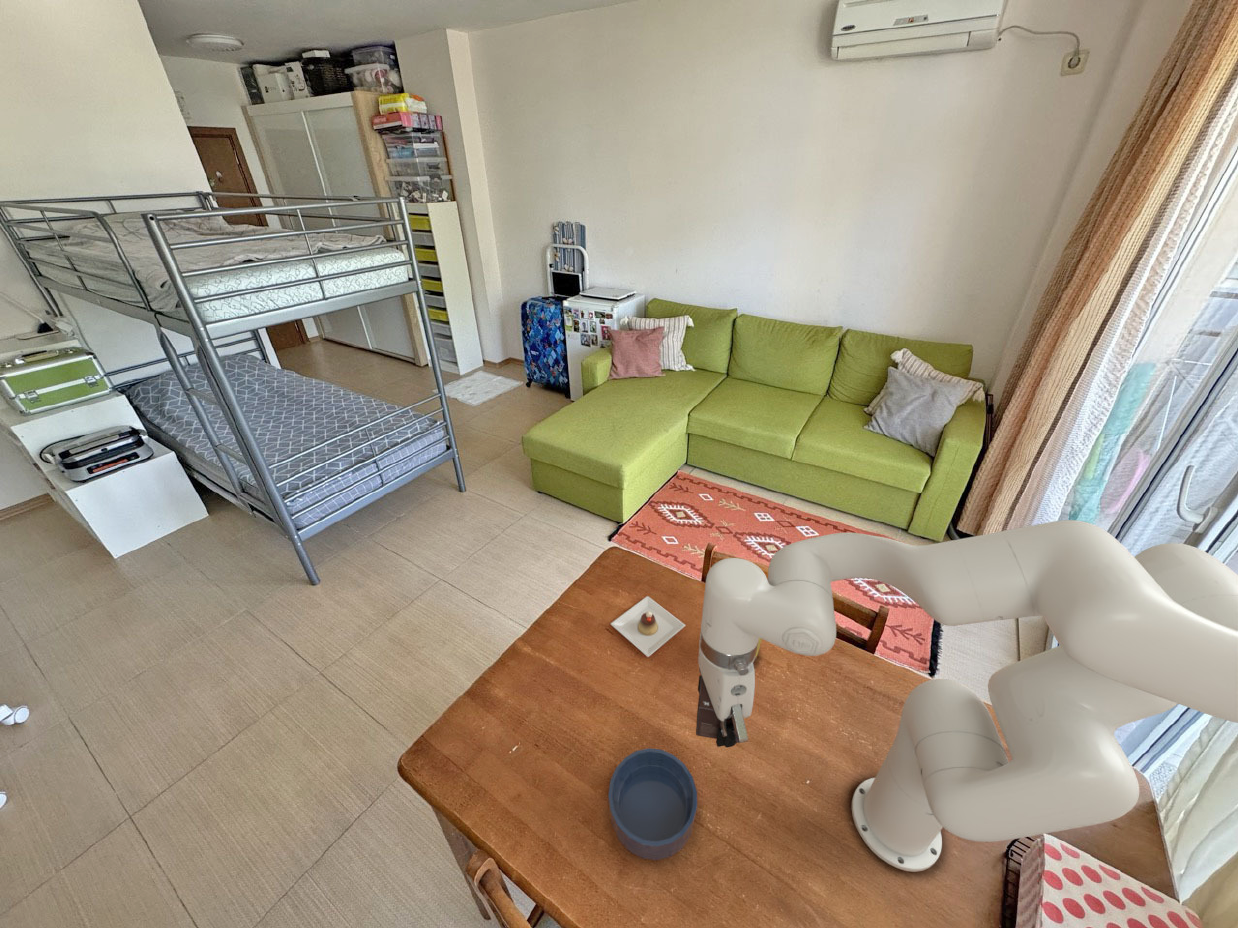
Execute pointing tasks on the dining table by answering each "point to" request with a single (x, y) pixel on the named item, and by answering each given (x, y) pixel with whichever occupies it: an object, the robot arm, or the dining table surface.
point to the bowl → (652, 803)
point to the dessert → (647, 625)
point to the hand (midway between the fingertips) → (716, 715)
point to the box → (707, 715)
